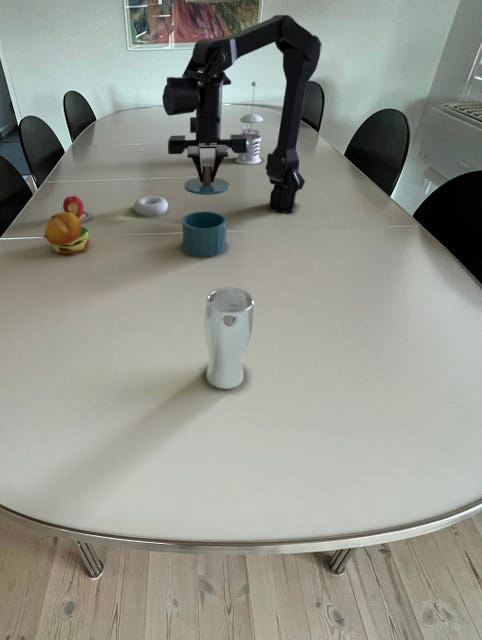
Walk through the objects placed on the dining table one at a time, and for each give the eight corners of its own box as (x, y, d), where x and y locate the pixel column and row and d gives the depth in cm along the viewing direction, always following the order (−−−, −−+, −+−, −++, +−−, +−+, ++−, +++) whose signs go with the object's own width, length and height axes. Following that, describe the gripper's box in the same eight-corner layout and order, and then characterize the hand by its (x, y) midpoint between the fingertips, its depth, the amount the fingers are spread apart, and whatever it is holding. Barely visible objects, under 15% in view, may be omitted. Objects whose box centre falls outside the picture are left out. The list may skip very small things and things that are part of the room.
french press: (265, 158, 155) (273, 80, 139) (252, 167, 148) (260, 85, 132) (242, 155, 159) (247, 78, 143) (228, 163, 152) (232, 83, 136)
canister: (229, 241, 104) (231, 214, 99) (217, 259, 96) (218, 231, 92) (191, 235, 107) (191, 209, 102) (176, 253, 100) (176, 226, 95)
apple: (95, 217, 118) (91, 194, 113) (73, 226, 113) (68, 203, 109) (79, 210, 122) (74, 188, 118) (56, 219, 118) (51, 196, 113)
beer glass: (200, 363, 69) (202, 287, 59) (241, 360, 70) (249, 284, 60) (206, 393, 64) (209, 315, 54) (250, 389, 64) (260, 311, 54)
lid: (234, 184, 105) (236, 160, 101) (221, 199, 97) (222, 174, 94) (193, 179, 109) (193, 157, 105) (177, 194, 101) (177, 170, 97)
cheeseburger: (99, 239, 106) (89, 206, 98) (81, 267, 101) (69, 234, 93) (65, 234, 109) (52, 201, 101) (46, 261, 103) (31, 229, 95)
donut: (130, 218, 117) (164, 219, 115) (128, 206, 115) (163, 207, 113) (139, 205, 124) (171, 205, 122) (138, 193, 122) (170, 194, 120)
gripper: (246, 102, 97) (241, 171, 107) (169, 104, 98) (171, 172, 108) (251, 112, 89) (245, 185, 99) (166, 113, 90) (169, 186, 100)
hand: (206, 181), depth 102 cm, fingers closed on lid, 2 cm apart
